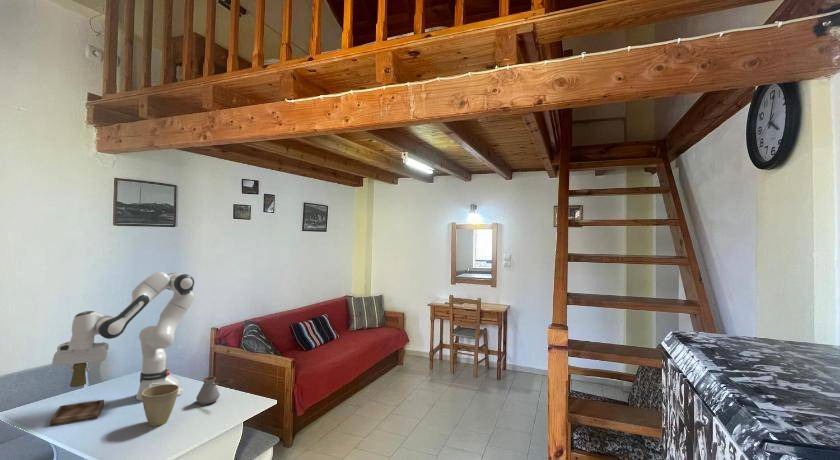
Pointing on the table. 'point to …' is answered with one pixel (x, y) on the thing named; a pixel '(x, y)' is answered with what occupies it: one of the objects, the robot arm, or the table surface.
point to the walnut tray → (77, 412)
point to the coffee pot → (209, 391)
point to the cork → (78, 375)
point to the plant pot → (159, 403)
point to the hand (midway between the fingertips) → (79, 371)
